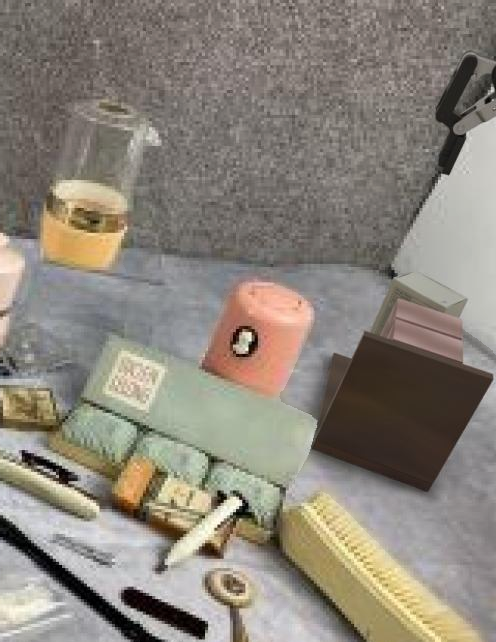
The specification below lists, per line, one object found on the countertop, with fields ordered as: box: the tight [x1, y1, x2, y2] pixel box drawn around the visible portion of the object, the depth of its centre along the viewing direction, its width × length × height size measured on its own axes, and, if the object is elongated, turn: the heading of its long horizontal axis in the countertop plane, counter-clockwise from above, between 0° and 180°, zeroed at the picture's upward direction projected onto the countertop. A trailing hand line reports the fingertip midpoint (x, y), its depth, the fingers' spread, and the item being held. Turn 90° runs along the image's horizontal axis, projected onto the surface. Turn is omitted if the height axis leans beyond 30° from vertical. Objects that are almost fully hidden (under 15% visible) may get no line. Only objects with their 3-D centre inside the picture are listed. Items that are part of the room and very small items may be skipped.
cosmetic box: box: [369, 270, 469, 336], centre depth 95 cm, size 6×4×12 cm
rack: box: [311, 298, 494, 492], centre depth 91 cm, size 18×11×13 cm, turn 158°
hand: (492, 185), depth 85 cm, fingers open, 8 cm apart
